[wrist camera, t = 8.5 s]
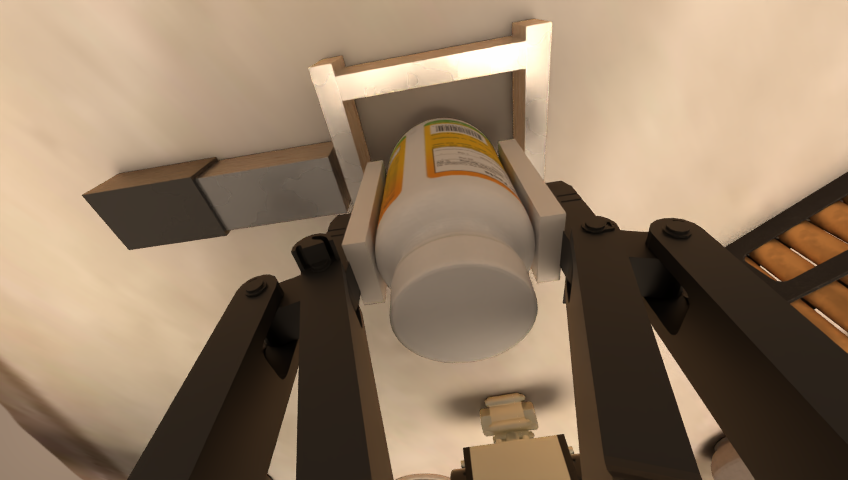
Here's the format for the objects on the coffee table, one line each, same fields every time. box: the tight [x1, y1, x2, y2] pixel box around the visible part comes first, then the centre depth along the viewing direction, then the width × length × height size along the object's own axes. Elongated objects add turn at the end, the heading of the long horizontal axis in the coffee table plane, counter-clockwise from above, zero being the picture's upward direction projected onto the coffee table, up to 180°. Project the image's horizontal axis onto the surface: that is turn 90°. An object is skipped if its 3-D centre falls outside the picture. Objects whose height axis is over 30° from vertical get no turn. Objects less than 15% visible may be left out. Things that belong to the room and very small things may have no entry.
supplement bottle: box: [375, 118, 538, 363], centre depth 13 cm, size 5×5×10 cm
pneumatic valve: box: [450, 393, 582, 480], centre depth 30 cm, size 6×12×12 cm, turn 106°
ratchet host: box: [82, 19, 552, 250], centre depth 18 cm, size 24×11×3 cm, turn 99°
